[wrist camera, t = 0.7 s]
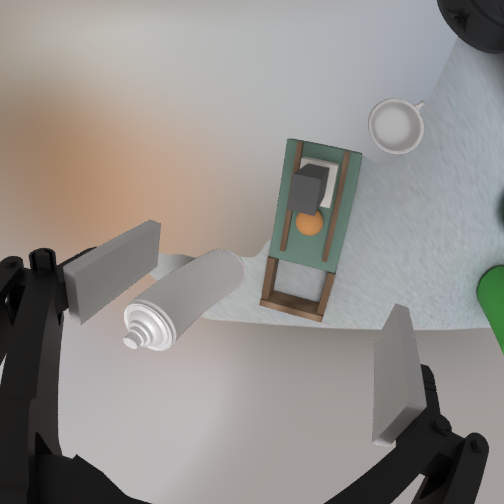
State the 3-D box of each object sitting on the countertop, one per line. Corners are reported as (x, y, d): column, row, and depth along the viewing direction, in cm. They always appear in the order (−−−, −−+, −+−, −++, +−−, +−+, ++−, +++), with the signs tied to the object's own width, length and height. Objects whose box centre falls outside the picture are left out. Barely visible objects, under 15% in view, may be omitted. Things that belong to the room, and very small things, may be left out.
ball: (327, 208, 45) (324, 215, 41) (321, 233, 47) (318, 242, 43) (301, 202, 46) (295, 209, 42) (296, 227, 48) (291, 235, 44)
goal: (337, 265, 51) (334, 276, 47) (324, 310, 55) (321, 322, 51) (273, 249, 54) (267, 258, 50) (266, 294, 58) (259, 305, 54)
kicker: (339, 163, 41) (331, 177, 30) (331, 203, 44) (320, 231, 33) (305, 156, 43) (284, 167, 31) (298, 195, 45) (276, 220, 34)
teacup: (390, 162, 42) (394, 166, 37) (356, 123, 41) (356, 122, 37) (436, 123, 37) (445, 123, 32) (403, 83, 36) (408, 77, 32)
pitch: (362, 153, 43) (362, 154, 40) (336, 265, 51) (334, 273, 48) (291, 138, 45) (287, 139, 43) (274, 249, 54) (269, 256, 51)
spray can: (213, 302, 63) (144, 385, 41) (180, 261, 61) (96, 330, 40) (255, 276, 57) (189, 367, 35) (218, 230, 56) (131, 300, 34)
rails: (350, 151, 41) (350, 152, 39) (327, 259, 48) (326, 262, 47) (298, 141, 42) (297, 141, 41) (281, 247, 50) (279, 250, 49)
